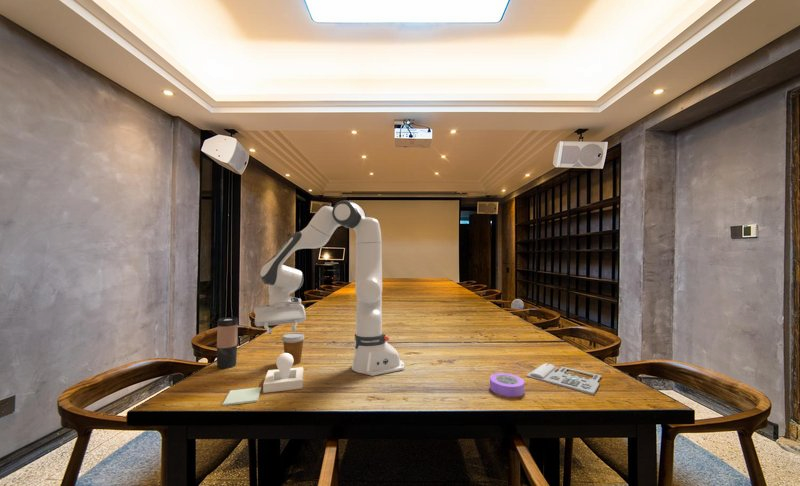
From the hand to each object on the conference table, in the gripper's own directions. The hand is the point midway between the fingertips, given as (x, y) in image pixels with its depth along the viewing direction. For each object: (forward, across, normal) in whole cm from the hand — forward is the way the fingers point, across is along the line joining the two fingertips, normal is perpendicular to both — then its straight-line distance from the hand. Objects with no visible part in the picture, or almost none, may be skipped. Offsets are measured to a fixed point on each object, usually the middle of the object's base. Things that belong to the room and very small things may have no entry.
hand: (281, 332), depth 126 cm
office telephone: (+50, +100, -27) cm, 115 cm away
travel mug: (0, -20, +23) cm, 31 cm away
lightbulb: (+20, 0, +3) cm, 20 cm away
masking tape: (+49, +71, -25) cm, 90 cm away
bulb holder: (+20, 0, +3) cm, 20 cm away
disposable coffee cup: (+5, +6, +18) cm, 19 cm away
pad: (+24, -14, -1) cm, 28 cm away
